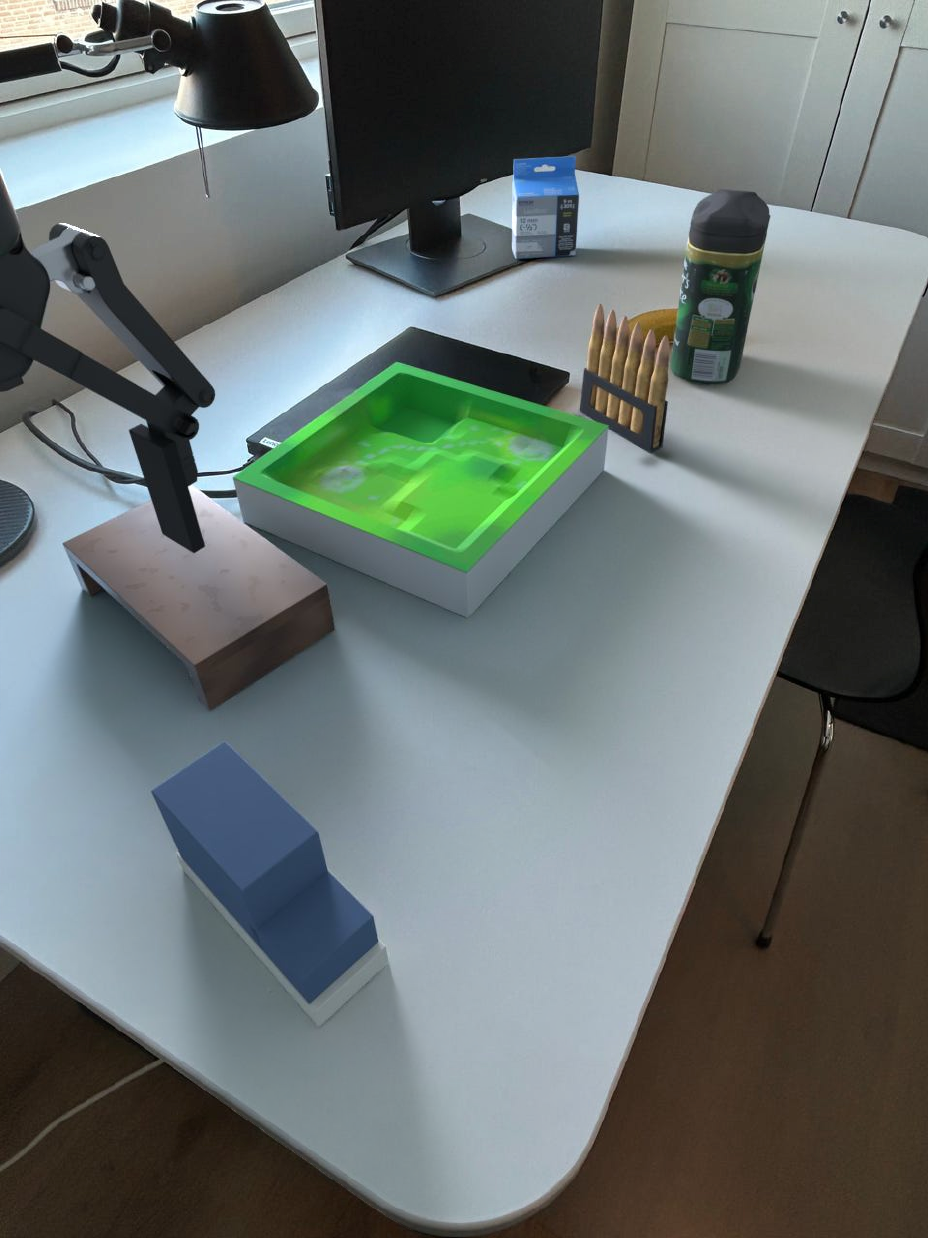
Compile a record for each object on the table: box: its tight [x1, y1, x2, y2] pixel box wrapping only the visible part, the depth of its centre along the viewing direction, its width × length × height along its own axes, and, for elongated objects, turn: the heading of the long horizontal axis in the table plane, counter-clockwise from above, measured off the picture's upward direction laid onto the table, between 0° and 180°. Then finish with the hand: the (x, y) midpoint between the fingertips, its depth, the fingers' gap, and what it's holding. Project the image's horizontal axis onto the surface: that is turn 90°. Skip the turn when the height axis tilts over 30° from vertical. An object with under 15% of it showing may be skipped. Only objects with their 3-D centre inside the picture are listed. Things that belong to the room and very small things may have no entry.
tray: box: [232, 361, 609, 619], centre depth 83 cm, size 25×25×5 cm
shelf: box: [62, 484, 336, 712], centre depth 72 cm, size 12×20×5 cm, turn 45°
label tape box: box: [511, 155, 580, 260], centre depth 123 cm, size 9×4×12 cm, turn 95°
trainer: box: [150, 740, 390, 1028], centre depth 50 cm, size 5×14×9 cm, turn 45°
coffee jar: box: [670, 188, 771, 386], centre depth 95 cm, size 10×8×19 cm
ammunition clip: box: [579, 303, 671, 454], centre depth 88 cm, size 11×2×12 cm, turn 37°
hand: (73, 609), depth 44 cm, fingers open, 13 cm apart
